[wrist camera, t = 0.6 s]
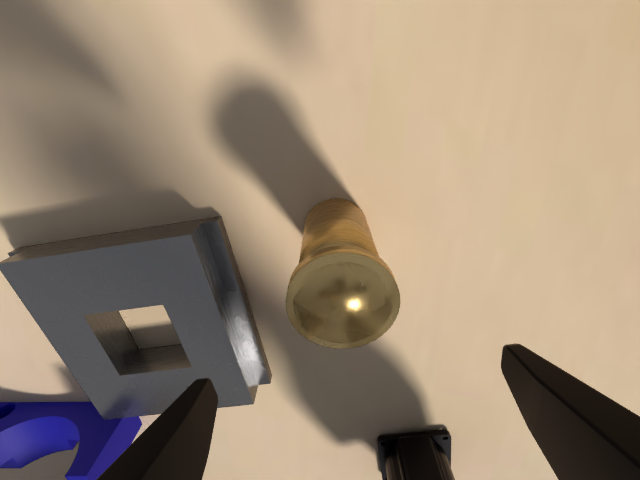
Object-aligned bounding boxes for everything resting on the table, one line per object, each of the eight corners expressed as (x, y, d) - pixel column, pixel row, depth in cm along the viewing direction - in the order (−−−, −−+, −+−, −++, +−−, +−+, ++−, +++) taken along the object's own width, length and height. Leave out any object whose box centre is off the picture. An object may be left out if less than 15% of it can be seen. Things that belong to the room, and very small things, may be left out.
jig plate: (271, 375, 25) (266, 402, 23) (111, 393, 26) (91, 421, 24) (221, 216, 19) (207, 231, 17) (18, 247, 20) (-19, 266, 18)
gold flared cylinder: (374, 255, 20) (403, 341, 13) (306, 264, 21) (297, 354, 14) (368, 188, 19) (396, 246, 11) (293, 199, 19) (274, 263, 12)
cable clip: (21, 433, 29) (-48, 511, 24) (-1, 400, 27) (-82, 476, 22) (147, 432, 29) (106, 510, 23) (133, 399, 27) (86, 476, 21)
